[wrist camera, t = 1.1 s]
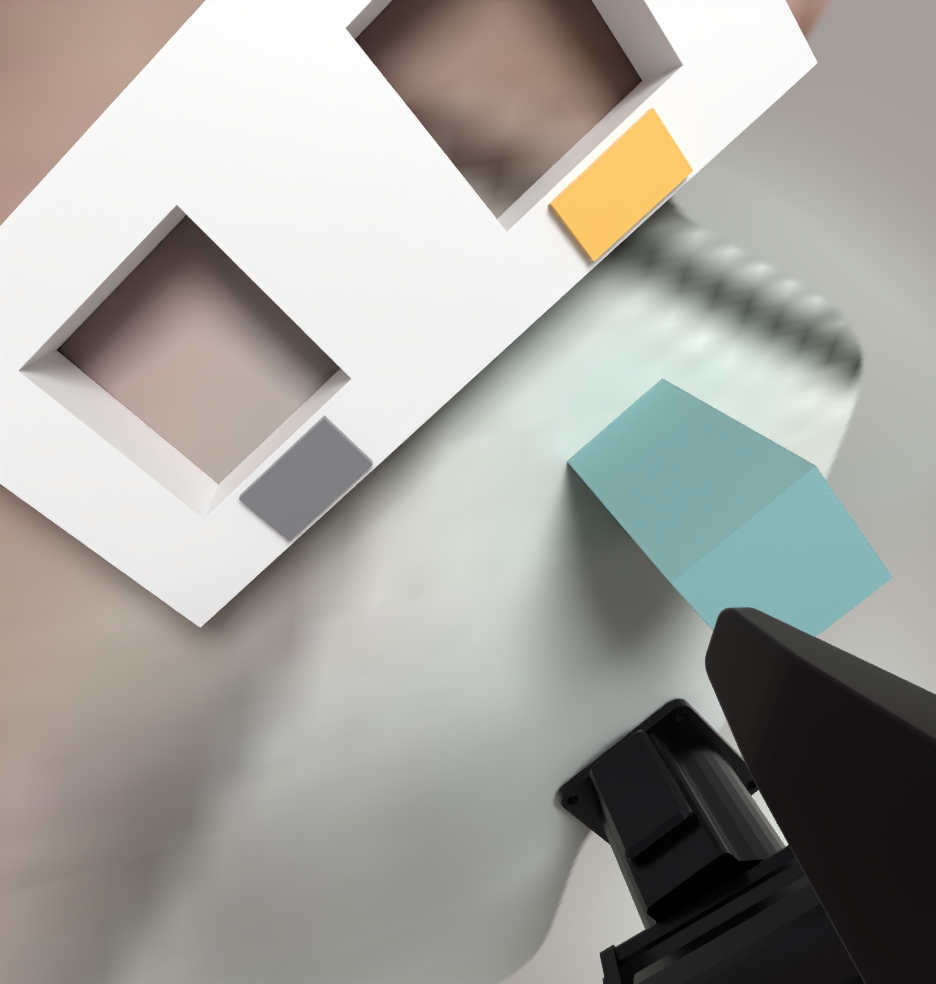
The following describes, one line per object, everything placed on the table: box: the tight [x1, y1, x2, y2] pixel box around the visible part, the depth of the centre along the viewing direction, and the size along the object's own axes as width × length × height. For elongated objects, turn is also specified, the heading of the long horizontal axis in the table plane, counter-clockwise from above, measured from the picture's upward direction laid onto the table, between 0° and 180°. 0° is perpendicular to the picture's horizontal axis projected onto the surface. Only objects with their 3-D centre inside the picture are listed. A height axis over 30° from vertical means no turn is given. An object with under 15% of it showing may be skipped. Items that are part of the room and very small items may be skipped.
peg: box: [567, 378, 892, 637], centre depth 20 cm, size 4×4×8 cm
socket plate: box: [0, 0, 817, 628], centre depth 18 cm, size 10×22×3 cm, turn 131°
